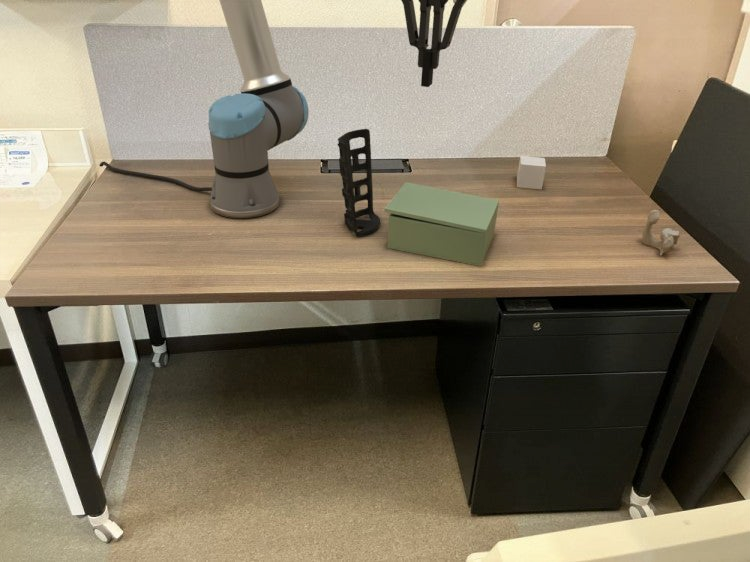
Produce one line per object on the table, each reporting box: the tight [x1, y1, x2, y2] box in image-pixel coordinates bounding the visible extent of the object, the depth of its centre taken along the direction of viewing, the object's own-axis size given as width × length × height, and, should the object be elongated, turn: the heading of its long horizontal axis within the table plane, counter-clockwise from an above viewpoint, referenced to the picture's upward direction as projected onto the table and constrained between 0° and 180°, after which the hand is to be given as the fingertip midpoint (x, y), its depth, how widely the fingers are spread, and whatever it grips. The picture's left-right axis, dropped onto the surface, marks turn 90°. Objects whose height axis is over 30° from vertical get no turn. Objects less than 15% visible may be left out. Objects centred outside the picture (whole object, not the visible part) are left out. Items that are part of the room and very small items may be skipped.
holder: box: [336, 128, 381, 238], centre depth 124 cm, size 11×8×20 cm
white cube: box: [516, 155, 547, 190], centre depth 150 cm, size 6×6×6 cm
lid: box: [383, 181, 500, 234], centre depth 121 cm, size 20×14×1 cm
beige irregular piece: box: [641, 209, 681, 257], centre depth 122 cm, size 9×6×10 cm
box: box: [386, 203, 500, 267], centre depth 123 cm, size 19×14×7 cm
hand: (426, 84), depth 119 cm, fingers closed
